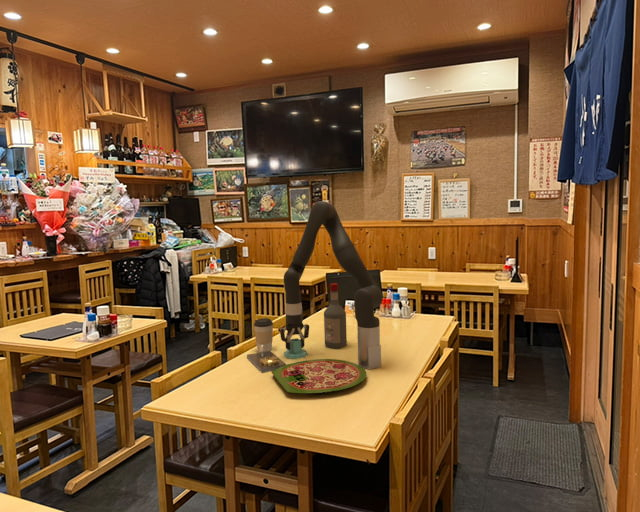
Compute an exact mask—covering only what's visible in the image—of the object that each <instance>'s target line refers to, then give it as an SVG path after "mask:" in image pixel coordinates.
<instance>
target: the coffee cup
mask: <svg viewBox="0 0 640 512" xmlns="http://www.w3.org/2000/svg"><path fill="white" fill-rule="evenodd" d="M273 322H274V321H272V320H271V319H270V318H267V317H266V318H265V317H264V318H258V319H256V320H255V322H254V323H253V327H254V335H255V337H254V338H255V342H256V351H257V353H260V345H264V352H266V351H271V352H272V350H273V340H274V339H273V335H274V334H273V333H274V329H273V328H274V323H273Z"/></svg>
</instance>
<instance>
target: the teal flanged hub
mask: <svg viewBox="0 0 640 512" xmlns="http://www.w3.org/2000/svg"><path fill="white" fill-rule="evenodd" d="M300 339H301V338H298V337H296V338H291V339H290V341H289V342H290V350H287V349H286V350H285V351H284V352H283V356H284V357H285V359H290V360H292V359H293V360H297V359H303V358H304V359H305V357H307V356H308V351H307V349H305V348H302V344H301V340H300Z"/></svg>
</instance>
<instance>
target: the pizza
mask: <svg viewBox="0 0 640 512" xmlns="http://www.w3.org/2000/svg"><path fill="white" fill-rule="evenodd" d="M286 364H287V365H284V366H282V367H279V368H277V369H274V370H273V371H271V374H272V376H273V377H274V378H275V379H276V380H277V382H278V383H279V384H280V385H281V387H282V388H283V389H284V390H285V392H286V393H287V392H288V393H290V394H320V393H321V394H322V393H323V392H325V393H332V391H334V392H337V391H342V390H346V389H350V388H353V387H355V386H357V385H359V384H360V383H362V382H363V381H364V380H365V379H366V377H367V371H366V370H365V369H366V368H363V367H361V366H359V365H358V363H355V362H352V361H349V360H343V359H335V358H315V359H307V360H301V361H296V362H292V363H286Z"/></svg>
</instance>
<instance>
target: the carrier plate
mask: <svg viewBox="0 0 640 512" xmlns="http://www.w3.org/2000/svg"><path fill="white" fill-rule="evenodd" d="M273 356H275V357H276V358H279V357H278V356H277V354H274V352H272V351H266V352H264V345H260V352H256V353H250V354H246V359H248V361H249V362H250V363H252V365H253V366H255V368H256V369H258V370H259V372H260V371H261V372H263V373H267V372H272V371H273V370H274V369H277V368H279V367H282V366H284V365H287V364H288V363H285V362H284V361H283V360H282V359H281V358H279V361H280V362H279V364H276V365H274V366H264V365H260V359H261V358H265V357H273ZM261 372H260V373H261Z"/></svg>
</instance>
